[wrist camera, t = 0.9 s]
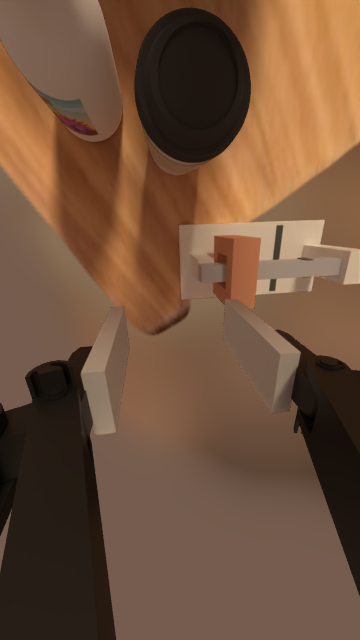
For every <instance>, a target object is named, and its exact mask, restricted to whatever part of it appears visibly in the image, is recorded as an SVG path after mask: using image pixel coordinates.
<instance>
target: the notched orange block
mask: <svg viewBox="0 0 360 640" xmlns="http://www.w3.org/2000/svg"><path fill="white" fill-rule="evenodd" d="M260 245H261V238H258V237H249V236H241V235H220V236H214V263H222V262H227V269H226V282H215V283H213V293H214V294H215V295H216V296H217V297H218V298H219V300H220V301H221V302H222V303H223V304H224V305H225V299H238V300H239V301H240V302H242V303H243V304H244V305H245V306H246V307H248V308H249V309H254V308H255V297H256V287H257V276H258V266H259V255H260Z"/></svg>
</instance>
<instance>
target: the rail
mask: <svg viewBox="0 0 360 640" xmlns="http://www.w3.org/2000/svg"><path fill="white" fill-rule="evenodd" d="M324 221H325V220H307V221H279V222H278V221H277V222H249V223H221V224H192V225H179V256H180V287H181V300H186V299H201V298H215V297H217V296H216V295H215V294H214V293H213V283H215V282H226V269H227V262H222V263H214V236H220V235H241V236H249V237H258V238H261V245H260V255H259V266H258V276H257V287H256V295H260V294H275V293H289V292H304V291H311V290H312V284H313V279H314V276H318V277H321V278H324V279H327V280H331V281H334V282H337V283H340V284H357V283H360V249H354V248H345V247H337V246H328V245H320V241H321V237H322V231H323V226H324Z"/></svg>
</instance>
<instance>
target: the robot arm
mask: <svg viewBox="0 0 360 640" xmlns="http://www.w3.org/2000/svg"><path fill="white" fill-rule="evenodd" d="M223 339H224V341H225V343H226V344H227V346H228V347H229V349H230V350H231V352H232V353H233V355H234V356H235V358H236V359H237V361H238V362H239V364H240V366H241V367H242V369H243V370H244V372H245V373H246V375H247V376H248V378H249V380H250V381H251V383H252V384H253V386H254V387H255V389H256V390H257V392H258V393H259V395H260V397H261V398H262V400H263V401H264V403H265V404H266V406H267V407H268V409H269V410H270V412H271V413H272V414H273V413H281V412H288V411H290V406H291V401H292V400H293V401H294V402H295V404H296V405H297V406H298V410H297V415H296V419H295V424H294V433H297V431H298V427H299V426H300V428H301V430H302V432H301V433H302V434H303V436H304V439H305V442H306V445H307V448H308V451H309V453H310V456H311V459H312V462H313V465H314V468H315V470H316V473H317V476H318V479H319V482H320V485H321V487H322V490H323V493H324V496H325V499H326V502H327V505H328V507H329V510H330V513H331V516H332V518H333V521H334V524H335V527H336V530H337V533H338V536H339V539H340V541H341V544H342V547H343V550H344V553H345V555H346V558H347V561H348V564H349V567H350V570H351V573H352V575H353V578H354V581H355V584H356V587H357V590H358V592H359V595H360V371H357V370H351V369H350V368H349V367H348V366H347V365H346V364H345V363H344V362H342V361H340V360H338V359H335V358H332V357H328V356H322V355H320V356H316V355H315V354H313V353H312V352H311V351H310V350H308V349H307V348H306V347H305V346H303V345H302V344H300V342H298V341H297V340H295V339H294V338H293V337H292V336H291V335H289V334H288V333H285V332H283V331H281V330H274V329H273V328H271V327H270V326H269V325H268V324H267V323H265V322H264V321H263V320H262V319H261V318H259V317H258V316H257V315H256V314H255V313H253V312H252V311H251V310H250V309H249V308H248V307H246V306H245V305H244V304H243V303H242V302H240V301H239V300H238V299H225V313H224V336H223ZM129 348H130V347H129V339H128V332H127V325H126V317H125V309H124V307H111V309H110V311H109V313H108V315H107V317H106V319H105V321H104V324H103V326H102V328H101V330H100V332H99V334H98V337H97V339H96V341H95V343H94V345H93V346H90V347H80V348H79V349H77V350H76V351H75V352H73V353H72V355H71V356H70V358H69V360H68V361H61V360H57V361H50V362H47V363H44V364H41V365H40V366H37V367H35V368H34V369H32V370H31V371H30V372H28V374H27V375H26V377H25V379H26V382H27V385H28V388H29V391H30V394H31V396H32V403H30V404H28V405H25V406H21V407H18V408H15V409H11V410H8V411H4V409H3V406H2V404H1V403H0V536H1V533H2V531H3V528H4V526H5V524H6V521H7V519H8V517H9V514H10V512H11V509H12V512H11V517H10V523H9V528H8V534H7V539H6V545H5V550H4V555H3V560H2V566H1V571H0V640H116V635H115V627H114V619H113V611H112V603H111V595H110V587H109V579H108V571H107V563H106V555H105V547H104V539H103V531H102V523H101V515H100V507H99V499H98V491H97V483H96V475H95V467H94V459H93V451H92V443H91V439H90V432H91V428H92V425H93V429H94V433H95V435H101V434H109V433H116V429H117V423H118V417H119V410H120V404H121V398H122V392H123V385H124V379H125V372H126V366H127V360H128V354H129Z"/></svg>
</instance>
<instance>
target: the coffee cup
mask: <svg viewBox="0 0 360 640" xmlns="http://www.w3.org/2000/svg"><path fill="white" fill-rule="evenodd" d="M134 89H135V101H136V106H137V111H138V114H139V117H140V120H141V123H142V127H143V130H144V134H145V137H146V141H147V144H148V147H149V150H150V152H151V155H152V158H153V160H154V161H155V163H156V164H157V166H158V167H159V168H160V169H161V170H163V171H164V172H166V173H168V174H170V175H176V176H179V175H184V174H187V173H188V172H191V171H193V170H195V169H197V168H199V167H200V166H202V165H203V164H205V163H206V162H208V161H209V160H211V159H212V158H214V157H216V156H218V155H219V154H220V153H222V152H223V151H224V150H225V149H226V148H227V147H228V146H229V145H230V144H231V142H232V141H233V140H234V138H235V137H236V135H237V134H238V132H239V131H240V129H241V127H242V125H243V123H244V121H245V118H246V115H247V112H248V108H249V103H250V95H251V81H250V72H249V67H248V63H247V59H246V56H245V53H244V51H243V48H242V46H241V44H240V42H239V41H238V39H237V37H236V36H235V34H234V33H233V32H232V30H231V29H230V28H229V27H228V26H227V25H226V24H225V23H224V22H223V21H222V20H221V19H220V18H218V17H217V16H215V15H213V14H211V13H209V12H207V11H205V10H201V9H197V8H182V9H177V10H174V11H172V12H169V13H168V14H166V15H164V16H163V17H161V18H160V19H159V20H158V21H157V22H156V23H155V24H154V25H153V26H152V27H151V29H150V30H149V32H148V33H147V35H146V37H145V39H144V41H143V43H142V45H141V48H140V51H139V55H138V59H137V66H136V72H135V84H134Z"/></svg>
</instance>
